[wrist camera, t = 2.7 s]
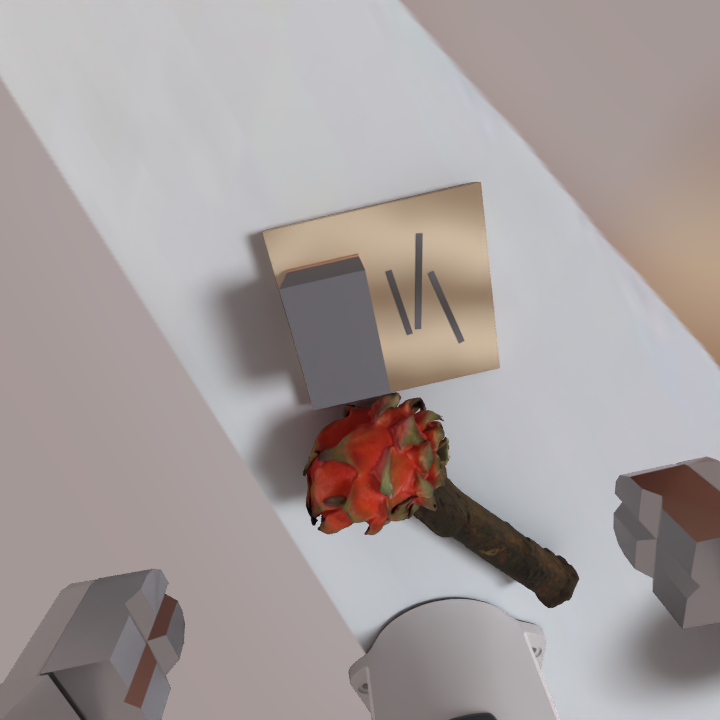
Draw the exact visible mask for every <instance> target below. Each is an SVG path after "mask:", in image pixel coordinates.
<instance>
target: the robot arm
mask: <svg viewBox="0 0 720 720" xmlns="http://www.w3.org/2000/svg"><path fill="white" fill-rule="evenodd" d="M615 494H616V495H617V496H618V498H619V499H620V500H621V501H622V503H621V505H620V506H619V507H618V508H617V510H616V511H615V512H614V531H615V535H616V538H617V541H618V544H619V546H620V548H621V550H622V551H623V553H624V555H625V557H626V558H627V559H628V561H629V562H630V563H631V564H632V566H633V567H634V568H635V569H636V570H638V571H640V572H642V573H644V574H646V575H648V576H650V577H652V578H653V592H654V594H655V595H656V596H657V597H658V599H659V600H660V601H661V602H662V604H663V605H664V606H665V607H666V609H667V610H668V611H669V612H670V614H671V615H672V616H673V617H674V619H675V620H676V621H677V622H678V624H679V625H680V626H681V627H682V629H685V628H691V627H697V626H703V625H709V624H715V623H720V462H719V461H718V460H716V459H713V458H710V457H703V458H698V459H693V460H689V461H684V462H679V463H677V464H671V465H666V466H661V467H656V468H652V469H647V470H642V471H637V472H633V473H628V474H623V475H620V476H619V477H618V479H617V481H616V486H615ZM167 586H168V581H167V579H166V577H165V576H164V574H163V572H162V570H159V569H150V570H144V571H138V572H132V573H127V574H121V575H115V576H110V577H104V578H99V579H97V580H90V581H85V582H79V583H73V584H70V585H68V586H67V587H66V588H64V589H63V590H62V591H61V592H60V593H59V595H58V597H57V598H56V600H55V601H54V603H53V605H52V606H51V608H50V609H49V611H48V613H47V614H46V616H45V617H44V619H43V620H42V622H41V623H40V625H39V627H38V628H37V630H36V631H35V633H34V635H33V636H32V638H31V639H30V641H29V642H28V644H27V646H26V647H25V649H24V650H23V652H22V653H21V655H20V657H19V658H18V660H17V661H16V663H15V665H14V666H13V668H12V669H11V671H10V672H9V674H8V676H7V677H6V679H5V680H4V682H3V683H1V684H0V720H161V719H162V716H163V713H164V709H165V706H166V703H167V699H168V696H169V693H170V689H171V687H170V685H169V682H168V680H167V677H166V675H167V674H168V672H169V671H170V670H171V669H172V668H173V666H174V665H175V664H176V663H177V662H178V660H179V658H180V655H181V651H182V647H183V644H184V629H185V622H184V617H183V612H182V609H181V607H180V605H179V603H178V601H177V600H176V599H173V598H172V597H170V596H168V595H167V594H165V592H166V589H167ZM545 647H546V638H545V635H544V632H543V630H542V628H541V627H539V626H537V625H534V624H531V623H526V622H521V621H517V620H515V619H514V618H512V617H511V616H509V615H508V614H507V613H505V612H504V611H502V610H501V609H499V608H497V607H495V606H493V605H491V604H488V603H485V602H481V601H476V600H469V599H449V600H441V601H436V602H431V603H428V604H424V605H421V606H419V607H416V608H414V609H412V610H410V611H407V612H406V613H404V614H402V615H401V616H399V617H397V618H396V619H395V620H393V621H392V622H391V623H390V624H389V625H388V626H387V627H385V629H384V630H383V631H382V632H381V633H380V634H379V636H378V637H377V639H376V641H375V643H374V644H373V646H372V648H371V649H370V651H369V652H368V653H367V654H366V655H364V656H363V657H362V658H360V659H359V660H358V661H356V662H355V663H354V664H353V665H352V666H351V667H350V669H349V678H350V683H351V685H352V687H353V688H354V690H355V691H356V692H357V694H358V695H359V697H360V698H361V699H362V701H363V702H364V704H365V705H366V707H367V708H368V710H369V711H370V712H371V718H372V720H560V718H559V715H558V713H557V710H556V708H555V705H554V703H553V700H552V697H551V695H550V692H549V690H548V687H547V685H546V682H545V680H544V677H543V675H542V672H541V666H542V661H543V657H544V652H545Z"/></svg>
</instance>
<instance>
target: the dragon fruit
mask: <svg viewBox="0 0 720 720" xmlns="http://www.w3.org/2000/svg"><path fill="white" fill-rule="evenodd" d="M400 399H401V396H400V395H399V394H398V393H397V392H395V393H391V394H385V395H382V396H381V397H380V398H379V399H378V401H376V402H375V403H373V405H372V408H355V406H354V405H347V406H346V407H345V409H344V411H345V414H344V417H345V418H343V419H341V420H338V421H335V422H332V423H331V424H329V425H328V426H326V427H325V428H323V430H322V431H321V432H320V434H319V435H318V437H317V439H316V441H315V445H314V447H313V449H312V453H311V456H310V457H309V460H308V463H307V464H306V466H305V468H304V471H303V476H305V475H306V474H307V482H308V492H307V497H306V507H307V510H308V513H309V515H310V517H311V522H312V525H315V524H316V522H317V521H318V520H317V519H316V518H317V517H318V516H320V514H321V515H322V516H321V517H322V518H321V524H320V527H318V528H319V529H318V530H320V531H322V532H324V533H326V534H333V533H337V532H338V531H340V530H342V529H344V528H346V527H349V526H350V525H352V524H353V523H359V522H364V521H365V522H367V523H368V524H369V527H368V529H367V531H366V532H365V535H374V534H376V533H378V532H379V531H380V530H381V529H382V527H383V526H384V525H386V524H388V523H390V521H400V520H405V519H409V518H410V517H411V516H412V515H413V513H414V512H415V511H416V510H418V509H419V506H420V505H422V506H424V507H426V508H428V509H430V510H433V511H436V509H437V504H436V501H435V498H434V496H433V493H434V489H436V488H438V487H440V486H442V485H443V486H444V485H445V484H446V483H445V479H446V478H447V472H446V468H445V465H446V464H447V462H448V461H449V458H448V457H450V456H449V453H448V450H449V445H448V443H449V439H447V438H446V437H445V438H444V430H443V427H442V425H441V423H440V422H438V421H434V420H439V419H440V420H442V418H441V417H442V416H440V415H438V414H436V413H434V412H433V411H429V410H426V408H425V404H424V402H423V401H422V399H421V398H413V399H408V400H406V401H405V402H404V403H402V404H400V405H399V407H397V405H398V403H399V401H400ZM419 408H420V411H419V412H417V410H418V409H419ZM416 412H417V413H416ZM415 413H416V414H415ZM431 421H432V422H431ZM442 421H444V420H442ZM443 438H444V439H443ZM442 439H443V440H442ZM331 532H332V533H331Z"/></svg>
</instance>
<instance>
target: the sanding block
mask: <svg viewBox="0 0 720 720" xmlns="http://www.w3.org/2000/svg"><path fill="white" fill-rule="evenodd" d="M286 272H287V273H286V275H285V278H284V280H283V282H282V284H281V287H280V289H279V291H280V294H281V298H282V301H283V305H284V308H285V312H286V315H287V319H288V322H289V326H290V329H291V333H292V336H293V339H294V343H295V346H296V350H297V353H298V357H299V360H300V364H301V367H302V371H303V374H304V378H305V381H306V385H307V388H308V392H309V395H310V398H311V402H312V405H313V409H314V410H318V409H322V408H327V407H331V406H336V405H340V404H345V403H349V402H354V401H358V400H363V399H367V398H371V397H376V396H380V395H385V394H389V393H391V391H390V386H389V381H388V377H387V372H386V367H385V362H384V357H383V353H382V348H381V343H380V338H379V334H378V329H377V324H376V319H375V314H374V310H373V305H372V300H371V295H370V291H369V286H368V281H367V276H366V272H365V268H364V266H363V264H362V262H361V260H360V257H359V254H353V255H349V256H344V257H340V258H336V259H331V260H327V261H323V262H318V263H314V264H310V265H305V266H301V267H297V268H292V269H288V270H287V271H286Z"/></svg>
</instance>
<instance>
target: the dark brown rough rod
mask: <svg viewBox="0 0 720 720" xmlns="http://www.w3.org/2000/svg"><path fill="white" fill-rule="evenodd" d="M445 483H446V484H445V485H444V486H443V485H442V486H440V487H438V488H436V489H434V493H433V496H434V498H435V501H436V504H437V509H436V511H433V510H430V509H428V508H426V507H424V506H422V505H420V506H419V509H418V510H416V511H415V512H414V513H413V515H414V516H415V517H416V518H417V519H419V520H420V521H422V522H423V523H424V524H425V525H426V526H427V527H428V528H429V529H430V530H432V531H433V532H434V533H435V534H437V535H438V536H441V537H453V538H454V539H456V540H458V541H459V542H461V543H463V544H464V545H465V546H466V547H467V548H469V549H470V550H472V551H473V552H475V553H476V554H478V555H479V556H480V557H482V558H483V559H484V560H486V561H487V562H489V563H490V564H492V565H493V566H495V567H496V568H498V569H500V570H501V571H502V572H504V573H505V574H507V575H508V576H510V577H511V578H513V579H514V580H516V581H518V582H519V583H521V584H523V585H524V586H526V587H527V588H528V589H530V590H532V591H533V592H535V594H536V596H537V598H538V599H539V600H540V601H541V602H542V603H543V604H544V605H545V606H547V607H548V608H553V607H556V606H557V605H560V604H562V603H563V602H564V601H566V600H570V598H571V597H572V594H573V592H574V589H575V587H576V585H577V582H578V580H579V577H578V574H577V572H576V570H575V569H574V568H573V566H572V565H569V564H568V563H567V561H566V560H565V559H564V558H563V557H562V556H560V555H558V556H555V554H554V553H553V552H551V551H550V550H549V549H547V548H544V549H543V548H542V547H540V546H539V545H538V544H537V543H536V542H535V541H533V540H531V539H530V538H528V537H525V536H524V535H522V534H521V533H519V532H518V531H517V530H515V529H514V528H513V527H512V526H511V525H510V524H509V523H508V522H504V521H503V520H501V519H500V518H498V517H497V516H495V515H494V514H493V513H491V512H490V511H488V510H487V509H485V508H484V507H483V506H481V505H480V504H478V503H477V502H475V501H474V500H472V499H471V498H470V497H468V496H467V495H465V494H464V493H462V492H461V491H460V490H459V489H458V488H457V487H456V486H455V485H454V484H453V483H452V482H451V481H450V480H449V479H448V478H446V479H445Z"/></svg>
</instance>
